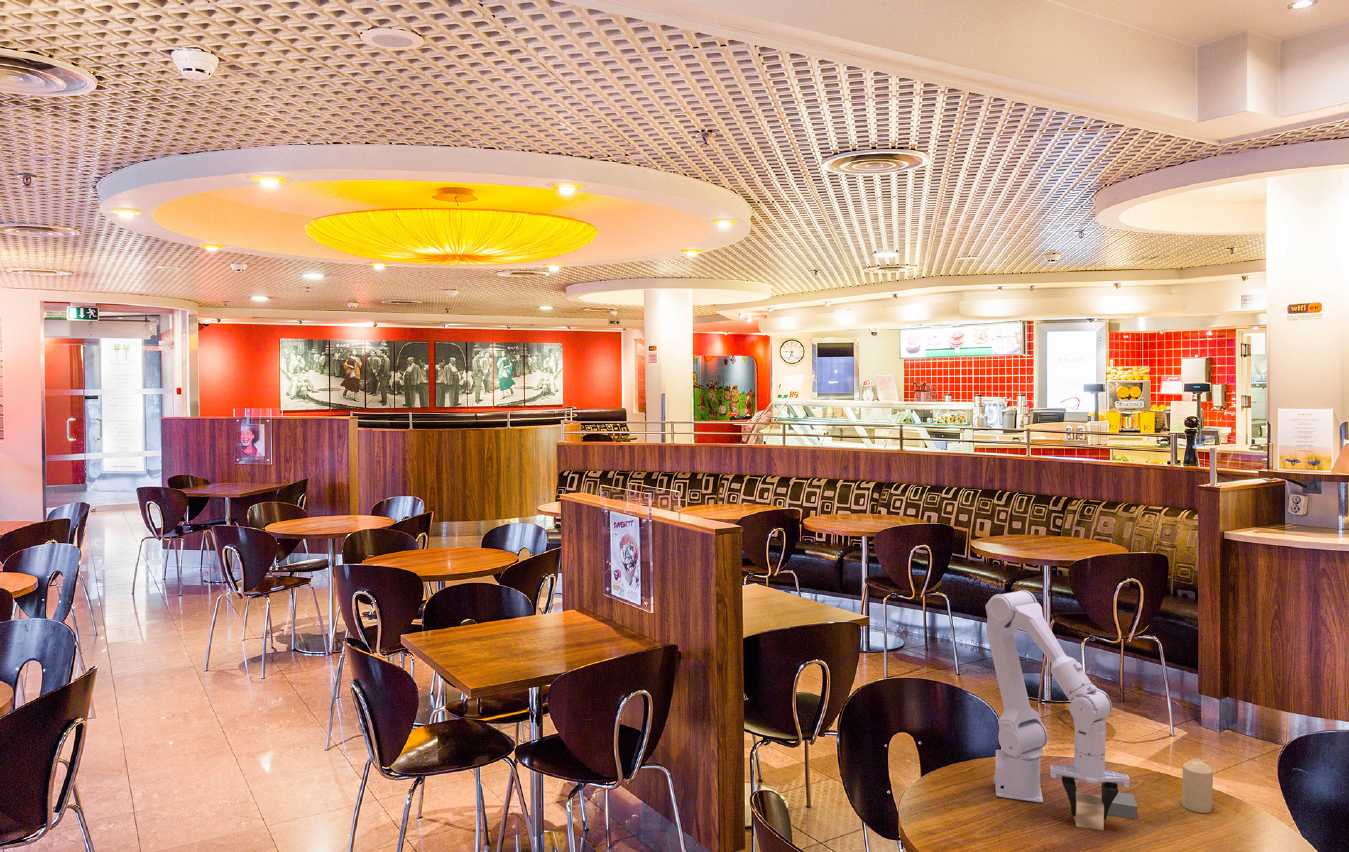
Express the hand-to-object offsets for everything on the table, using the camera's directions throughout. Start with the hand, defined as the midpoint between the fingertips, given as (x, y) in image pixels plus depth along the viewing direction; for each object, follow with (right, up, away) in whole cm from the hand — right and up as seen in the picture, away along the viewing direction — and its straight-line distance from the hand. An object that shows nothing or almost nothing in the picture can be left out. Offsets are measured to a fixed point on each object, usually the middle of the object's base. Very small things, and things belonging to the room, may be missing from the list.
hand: (1088, 815), depth 178 cm
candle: (+27, -2, +7) cm, 28 cm away
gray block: (+9, -2, +5) cm, 11 cm away
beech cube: (0, -1, 0) cm, 1 cm away
